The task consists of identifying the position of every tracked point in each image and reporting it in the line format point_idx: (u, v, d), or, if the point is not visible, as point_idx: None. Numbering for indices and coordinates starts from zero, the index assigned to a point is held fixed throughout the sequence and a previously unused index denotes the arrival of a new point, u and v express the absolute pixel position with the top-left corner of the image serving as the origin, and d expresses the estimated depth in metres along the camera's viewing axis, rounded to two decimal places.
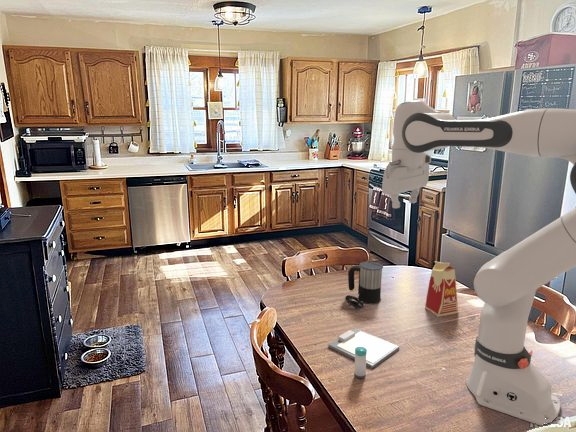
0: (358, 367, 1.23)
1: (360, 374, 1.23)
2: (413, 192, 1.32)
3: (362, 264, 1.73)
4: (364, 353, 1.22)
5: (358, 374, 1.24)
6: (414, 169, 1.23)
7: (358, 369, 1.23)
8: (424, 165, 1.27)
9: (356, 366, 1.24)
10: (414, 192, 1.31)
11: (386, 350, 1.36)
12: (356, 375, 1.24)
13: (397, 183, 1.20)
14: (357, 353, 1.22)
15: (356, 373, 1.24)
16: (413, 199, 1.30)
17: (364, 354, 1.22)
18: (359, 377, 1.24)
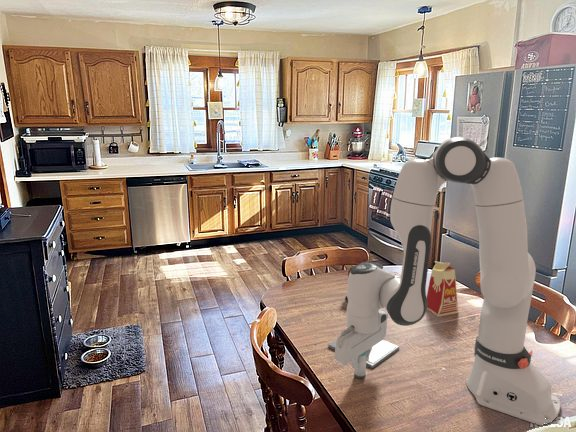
0: (358, 367, 1.23)
1: (360, 374, 1.23)
2: None
3: None
4: (364, 353, 1.22)
5: (358, 374, 1.24)
6: (368, 334, 1.19)
7: (358, 369, 1.23)
8: (380, 324, 1.23)
9: None
10: (366, 350, 1.26)
11: (386, 350, 1.36)
12: (356, 375, 1.24)
13: (349, 352, 1.16)
14: None
15: (356, 373, 1.24)
16: None
17: (364, 354, 1.22)
18: (359, 377, 1.24)
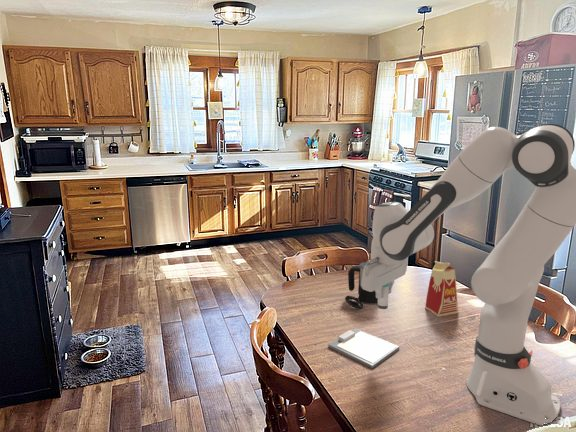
0: (381, 298, 1.34)
1: (383, 304, 1.34)
2: None
3: (362, 264, 1.72)
4: (387, 284, 1.33)
5: (381, 304, 1.35)
6: (392, 265, 1.30)
7: (381, 300, 1.34)
8: None
9: None
10: (389, 283, 1.37)
11: (386, 350, 1.36)
12: (379, 305, 1.35)
13: (375, 281, 1.27)
14: None
15: (379, 304, 1.35)
16: None
17: (387, 285, 1.33)
18: (382, 307, 1.35)
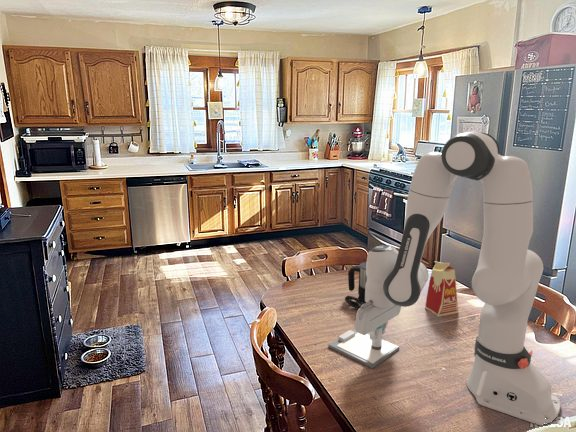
0: (375, 339, 1.36)
1: (377, 345, 1.36)
2: None
3: (362, 264, 1.72)
4: (380, 326, 1.35)
5: (375, 345, 1.36)
6: (385, 308, 1.31)
7: (375, 341, 1.36)
8: None
9: None
10: (383, 324, 1.38)
11: (386, 350, 1.36)
12: (373, 346, 1.37)
13: (368, 324, 1.28)
14: None
15: (373, 344, 1.37)
16: None
17: (380, 327, 1.35)
18: (376, 348, 1.36)
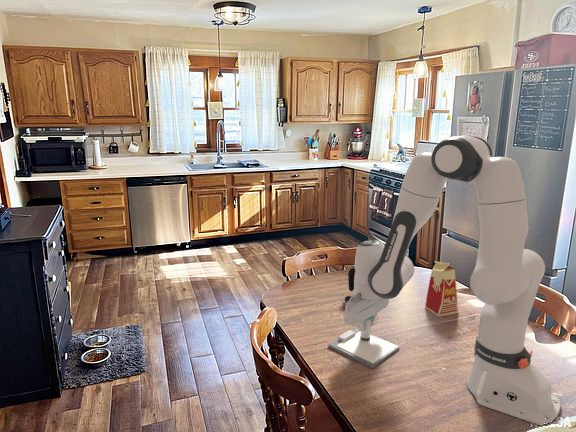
0: None
1: (365, 336, 1.41)
2: (370, 316, 1.44)
3: None
4: (369, 318, 1.40)
5: (364, 336, 1.41)
6: (373, 300, 1.37)
7: (364, 332, 1.41)
8: None
9: None
10: (371, 316, 1.43)
11: (386, 350, 1.36)
12: (362, 337, 1.42)
13: (357, 316, 1.34)
14: None
15: (362, 336, 1.42)
16: None
17: (369, 319, 1.40)
18: (364, 339, 1.41)
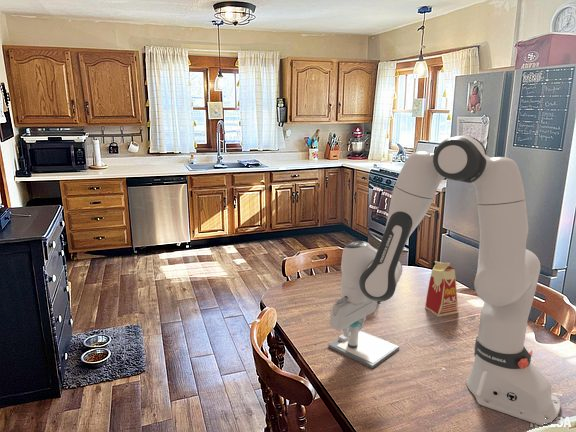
0: (351, 337, 1.37)
1: (353, 344, 1.37)
2: (360, 318, 1.40)
3: None
4: (357, 324, 1.36)
5: (351, 344, 1.37)
6: (360, 304, 1.32)
7: (351, 339, 1.37)
8: None
9: (349, 336, 1.37)
10: (361, 319, 1.40)
11: (386, 350, 1.36)
12: (349, 345, 1.38)
13: (343, 320, 1.29)
14: None
15: (349, 343, 1.37)
16: (360, 326, 1.39)
17: (357, 325, 1.36)
18: (352, 346, 1.37)
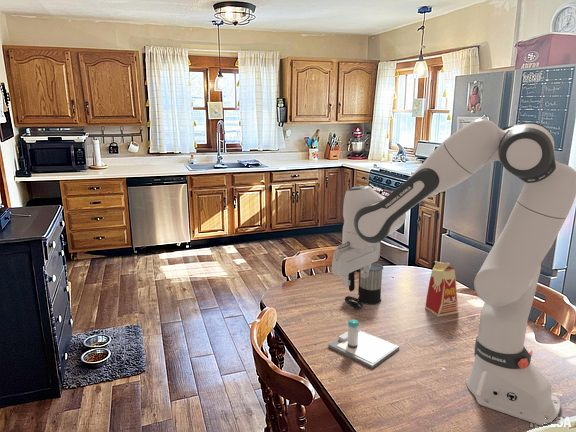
0: (350, 338, 1.37)
1: (352, 344, 1.37)
2: (365, 267, 1.37)
3: None
4: (356, 325, 1.35)
5: (351, 344, 1.37)
6: (363, 250, 1.29)
7: (351, 339, 1.37)
8: (374, 243, 1.33)
9: (349, 337, 1.37)
10: (366, 267, 1.37)
11: (386, 350, 1.36)
12: (349, 345, 1.38)
13: (345, 265, 1.25)
14: (350, 325, 1.36)
15: (349, 343, 1.37)
16: (365, 274, 1.36)
17: (356, 326, 1.35)
18: (352, 346, 1.37)
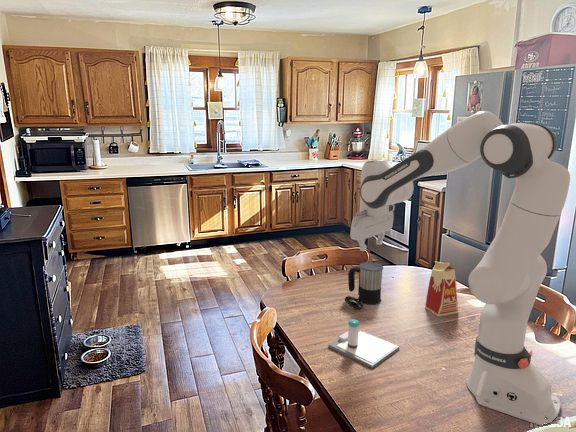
0: (351, 337, 1.37)
1: (352, 344, 1.37)
2: (379, 235, 1.51)
3: (362, 265, 1.72)
4: (356, 325, 1.35)
5: (351, 344, 1.37)
6: (378, 218, 1.42)
7: (351, 339, 1.37)
8: (388, 213, 1.47)
9: (349, 336, 1.37)
10: (380, 235, 1.51)
11: (386, 350, 1.36)
12: (349, 345, 1.38)
13: (363, 231, 1.39)
14: (350, 324, 1.36)
15: (349, 343, 1.37)
16: (379, 241, 1.50)
17: (356, 325, 1.35)
18: (351, 346, 1.37)
